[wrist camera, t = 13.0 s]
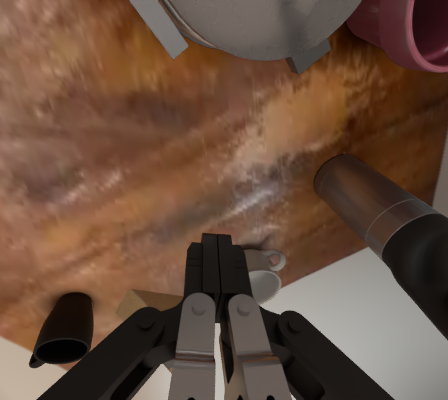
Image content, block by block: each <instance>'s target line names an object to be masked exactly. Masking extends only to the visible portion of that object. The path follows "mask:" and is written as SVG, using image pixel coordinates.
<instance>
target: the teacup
mask: <svg viewBox="0 0 448 400" xmlns="http://www.w3.org/2000/svg"><path fill="white" fill-rule="evenodd" d="M243 251H244V252H245V256H246V263H247V267H248V272H249V278H250V283H251V289H252V294H253V297H254V299H255V301H256V302H257V303H258V305H260V304H263V303H265V302H267V301H269V300H271V299H272V298H273V297H274V296H275V295H276V294H277V293H278V291H279V290H280V287H281V279H280V277H279V276H278V275H277V272H276V271H278V270H281V269H282V268H283V267H284V265H285V263H286V258H285V255H284V254H283V253H282V252H281V251H279V250H276V249H272V250H267V251H266V250H262V251H259V250H254V249H246V250H243ZM271 255H278V256H279V261H278V263H277V264H275V265H273V264H272V262H271V260H270V259H269V257H268V256H271Z"/></svg>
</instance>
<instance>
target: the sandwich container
mask: <svg viewBox="0 0 448 400" xmlns="http://www.w3.org/2000/svg"><path fill="white" fill-rule="evenodd" d="M182 299H183V297H181V296H175V295H169V294H162V293H155V292H148V291H141V290H133V289H130V290H129V292H128V293H127V295H126V296H125V298H124V299H123V301H122V302H121V304H120V306H119V308H118V310H117V312H116V313H117V314H118V315H119V316H120V317H121V318H122V319H123V320H124V321H125V320H126V319H127V318H128V317H129V316H131V315H132V314H133V313H134V312H135V311H136V310H138V309H140V308H143V307H154V308H157V309H158V310H160V311H164V310H167V309H170V308H173V307H175V306H176V305H178V304H179V303H180V302H181V300H182ZM163 364H164V365H165V366H166V367H167V369H168V370H169V371H170V372H171V373H172V370H173V364H174V359H173V360H170V361H168V362H165V363H163Z"/></svg>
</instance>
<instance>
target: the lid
mask: <svg viewBox="0 0 448 400" xmlns="http://www.w3.org/2000/svg"><path fill="white" fill-rule="evenodd" d="M361 1H362V0H168V2H169V3H170V5H171V6H172V7H173V9H174V10H175V11H176V13H177V14H178V15H179V17H180V18H181V19H182V20H183V21H184V22H185V23H186V24H187V25H188V26H189V27H190V29H191V30H193V31H194V32H195V33H196V34H197V35H199V36H200V37H201V38H202V39H203V40H205V41H207V42H208V43H210V44H211V45H213V46H215V47H216V48H218V49H221V50H223V51H225V52H228V53H230V54H232V55H235V56H238V57H242V58H246V59H250V60H260V61H269V60H279V59H284V58H288V57H292V56H295V55H297V54H300V53H302V52H305V51H307V50H308V49H310V48H312V47H314V46H316V45H317V44H319V43H320V42H322V41H323V40H324V39H326V38H327V37H329V36H330V35H331V34H332V33H333V32H334V31H335V30H337V29H338V28H339V27H340V26H341V25H342V24H343V23H344V22H345V21H346V20H347V18H348V17H349V16H350V15H351V14H352V13H353V12H354V11H355V9H356V8H357V7H358V5H359V4H360V3H361Z"/></svg>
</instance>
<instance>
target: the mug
mask: <svg viewBox="0 0 448 400" xmlns="http://www.w3.org/2000/svg"><path fill="white" fill-rule="evenodd" d="M93 327H94V324H93V310H92V304H91V299H90V297H89V296H87V295H86V294H83V293H69V294H66V295H64V296H62V297H61V298H60V300H59V301H58V303H57V304H56V306H55V307H54V308H53V310H52V311H51V313H50V314H49V316H48V317H47V319H46V321H45V323H44V324H43V326H42V329H41V331H40V333H39V336H38V339H37V342H36V344H35V347H34V351H33V354H32V356H31V359H30V362H29V366H30V367H31V368H38V367H40V366H42V365H43V364H44V363H48V364H66V363H71V362H75V361H78V360H80V359H82V358H84V357H85V356H86V355H87V354H88V353H89V351H90V348H91V342H92V337H93Z"/></svg>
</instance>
